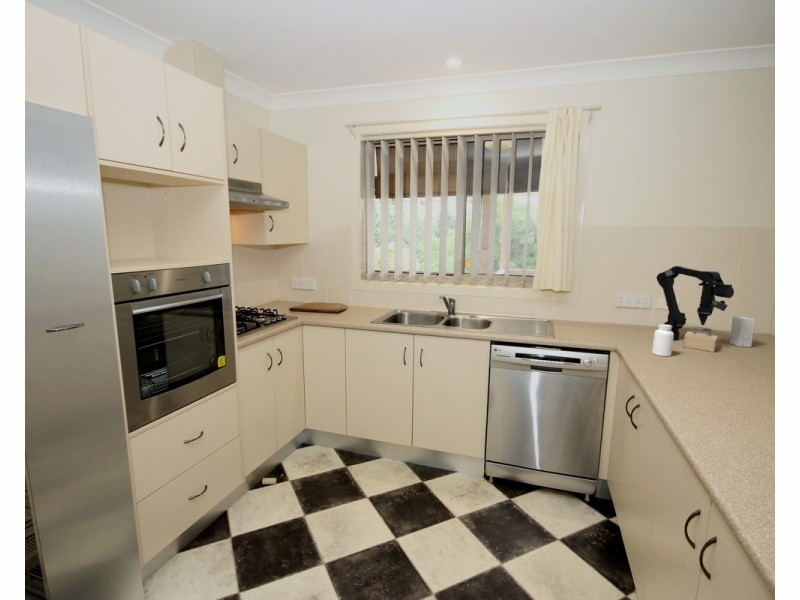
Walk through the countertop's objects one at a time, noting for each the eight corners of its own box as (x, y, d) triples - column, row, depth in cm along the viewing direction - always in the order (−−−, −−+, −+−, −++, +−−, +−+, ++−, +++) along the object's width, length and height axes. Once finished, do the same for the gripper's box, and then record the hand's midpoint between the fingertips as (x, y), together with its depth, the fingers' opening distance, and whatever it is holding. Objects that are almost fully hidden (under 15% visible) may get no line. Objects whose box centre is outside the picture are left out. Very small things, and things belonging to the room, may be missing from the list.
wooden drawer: (683, 347, 207) (684, 336, 206) (685, 343, 216) (687, 332, 215) (714, 352, 199) (715, 341, 198) (715, 348, 207) (717, 337, 206)
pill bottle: (668, 353, 196) (672, 324, 193) (673, 357, 188) (677, 327, 186) (649, 351, 198) (653, 322, 196) (654, 355, 191) (658, 326, 189)
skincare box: (751, 347, 210) (756, 319, 207) (737, 346, 211) (742, 318, 209) (741, 343, 218) (745, 316, 215) (727, 342, 219) (732, 315, 217)
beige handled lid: (684, 336, 206) (685, 328, 206) (687, 332, 215) (688, 325, 214) (715, 340, 198) (717, 333, 197) (717, 337, 206) (718, 329, 205)
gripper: (727, 299, 193) (722, 329, 196) (728, 295, 207) (723, 323, 210) (699, 296, 200) (694, 325, 203) (702, 292, 214) (697, 320, 217)
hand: (703, 323), depth 208 cm, fingers open, 9 cm apart
